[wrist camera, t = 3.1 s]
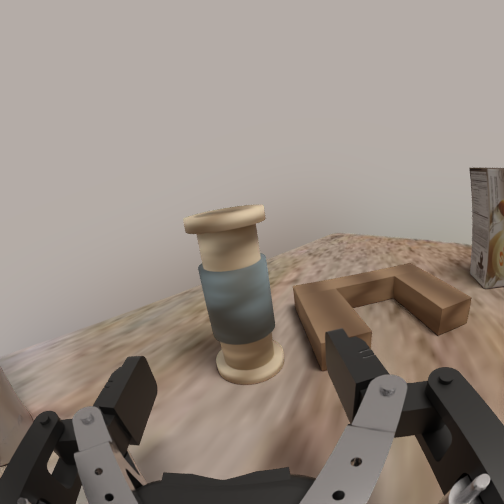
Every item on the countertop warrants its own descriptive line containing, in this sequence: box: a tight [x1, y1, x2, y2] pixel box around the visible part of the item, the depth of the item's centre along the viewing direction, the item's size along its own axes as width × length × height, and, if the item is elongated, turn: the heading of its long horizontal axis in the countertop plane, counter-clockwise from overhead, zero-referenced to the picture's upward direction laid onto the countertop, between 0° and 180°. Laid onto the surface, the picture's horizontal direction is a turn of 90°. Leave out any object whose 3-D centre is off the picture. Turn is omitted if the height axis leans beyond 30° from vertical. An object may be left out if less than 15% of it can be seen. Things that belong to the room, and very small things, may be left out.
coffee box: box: [470, 168, 504, 289], centre depth 25 cm, size 9×6×16 cm
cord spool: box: [183, 205, 284, 385], centre depth 22 cm, size 6×6×14 cm
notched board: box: [293, 263, 471, 371], centre depth 27 cm, size 17×13×3 cm
